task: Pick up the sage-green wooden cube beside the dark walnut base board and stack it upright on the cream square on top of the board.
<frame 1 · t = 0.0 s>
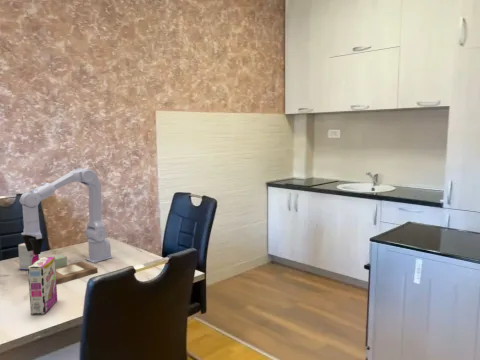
hand: (33, 252, 165), 10 cm above the table, tool pointing down, fingers open, 7 cm apart
base board: (69, 274, 167), on the table
candy bar box: (45, 308, 136), on the table
sage cube: (59, 267, 176), on the table
supplement box: (29, 268, 176), on the table
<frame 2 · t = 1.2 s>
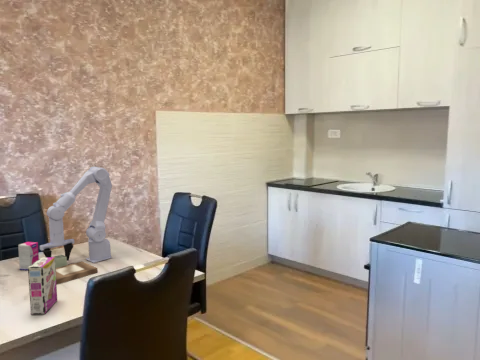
hand: (58, 262, 176), 2 cm above the table, tool pointing down, fingers open, 7 cm apart
nothing on the table moved.
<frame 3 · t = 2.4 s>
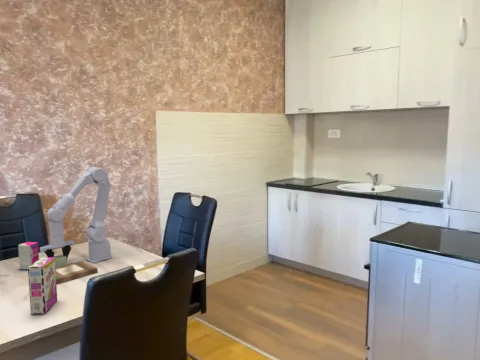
hand: (59, 264, 176), 2 cm above the table, tool pointing down, fingers closed on sage cube, 5 cm apart
sage cube: (59, 267, 176), on the table, touching gripper
everything else where it was.
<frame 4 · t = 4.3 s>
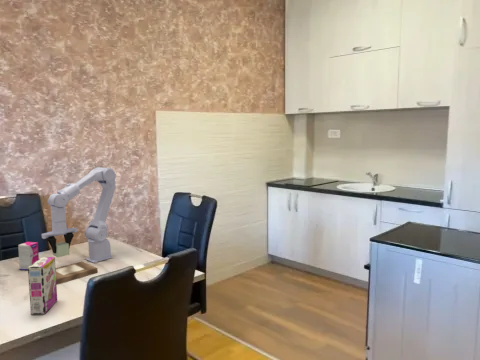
hand: (61, 251, 172), 8 cm above the table, tool pointing down, fingers closed on sage cube, 5 cm apart
sage cube: (61, 254, 172), point 7 cm above the table, touching gripper
everything else where it was.
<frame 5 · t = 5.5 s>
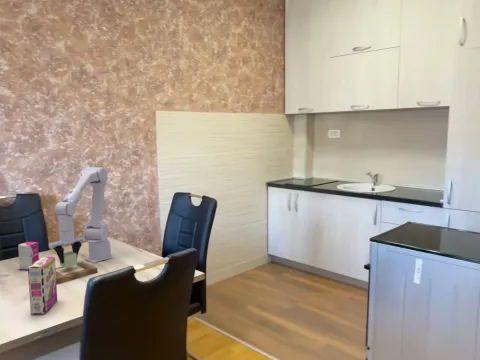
hand: (68, 261, 166), 6 cm above the table, tool pointing down, fingers closed on sage cube, 5 cm apart
sage cube: (68, 265, 166), point 4 cm above the table, touching gripper
everything else where it was.
when the fingers open (5 cm above the table, at t = 6.5 s): sage cube drops 1 cm, resting on base board.
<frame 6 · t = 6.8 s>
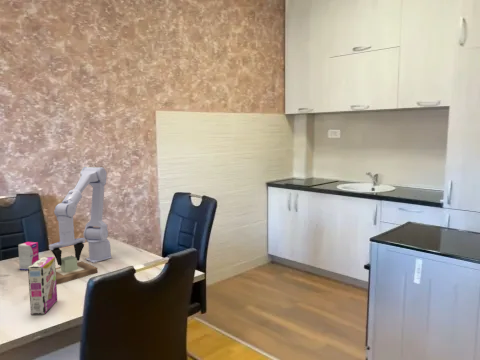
hand: (68, 262, 166), 5 cm above the table, tool pointing down, fingers open, 7 cm apart
sage cube: (69, 269, 167), point 2 cm above the table, touching base board
everything else where it was.
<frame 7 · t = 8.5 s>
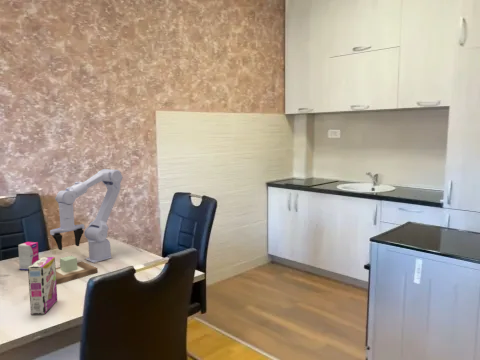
hand: (69, 247, 174), 9 cm above the table, tool pointing down, fingers open, 7 cm apart
nothing on the table moved.
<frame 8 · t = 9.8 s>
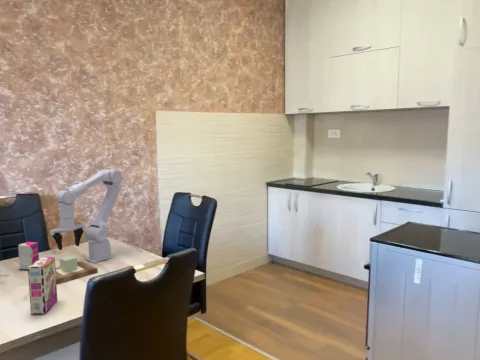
hand: (69, 247, 174), 9 cm above the table, tool pointing down, fingers open, 7 cm apart
nothing on the table moved.
at the end: sage cube inside the target area on the base board (0.2 cm from its centre), point 2.2 cm above the base board's base; sage cube tilted 0°; the gripper is holding nothing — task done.
